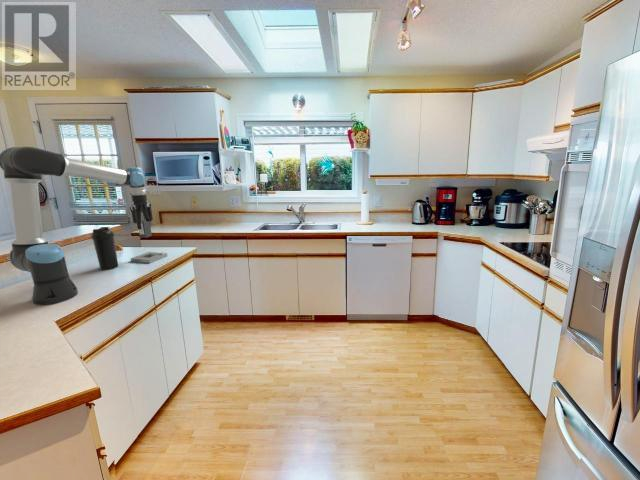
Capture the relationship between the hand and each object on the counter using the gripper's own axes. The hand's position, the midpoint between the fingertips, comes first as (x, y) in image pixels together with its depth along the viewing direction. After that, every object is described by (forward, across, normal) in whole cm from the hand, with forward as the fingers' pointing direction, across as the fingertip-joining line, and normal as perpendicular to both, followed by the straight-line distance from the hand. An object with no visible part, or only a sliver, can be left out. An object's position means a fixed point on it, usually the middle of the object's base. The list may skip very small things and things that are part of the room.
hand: (145, 233), depth 180 cm
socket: (+16, 0, 0) cm, 16 cm away
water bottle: (+16, -18, +10) cm, 27 cm away
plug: (+2, 0, 0) cm, 2 cm away
